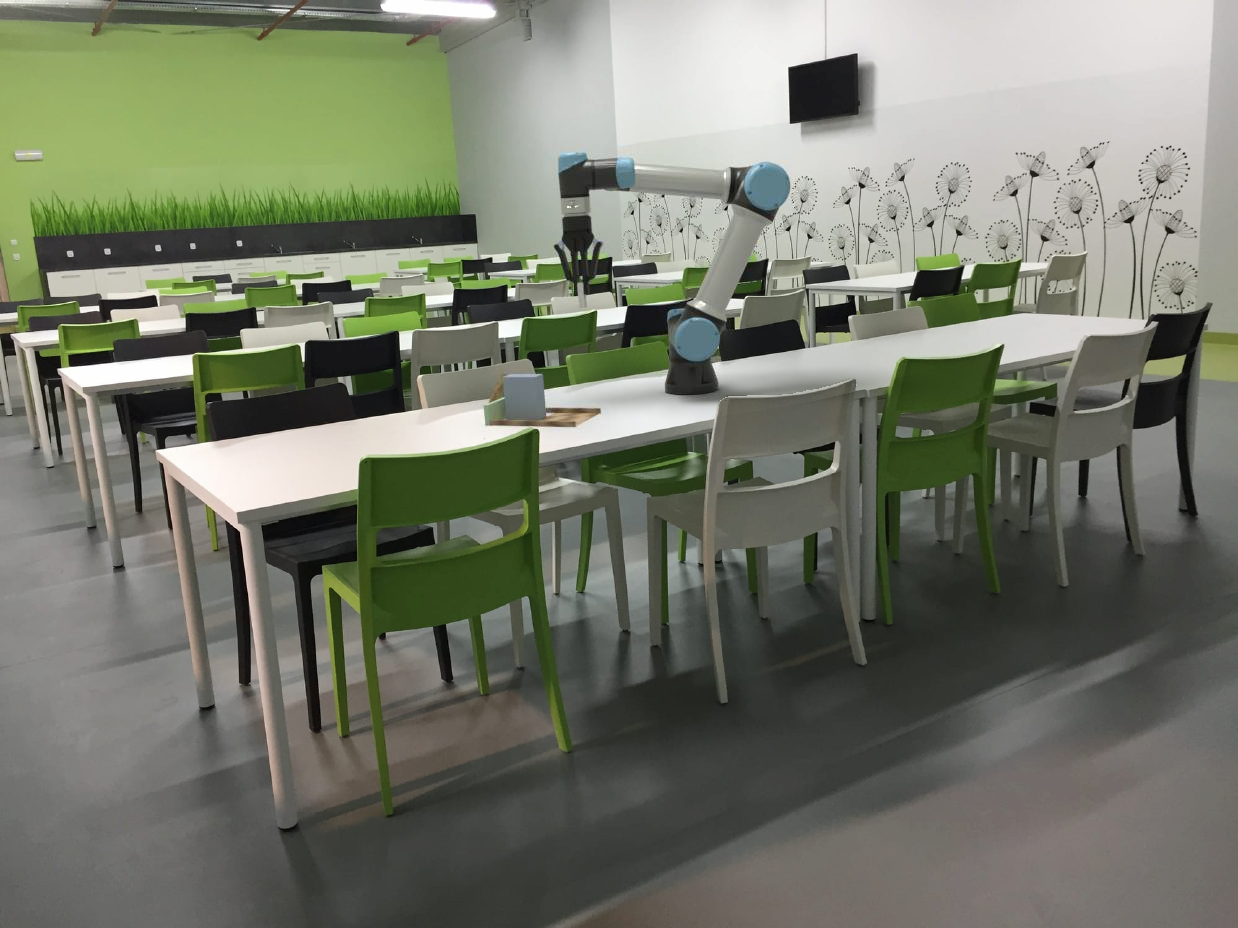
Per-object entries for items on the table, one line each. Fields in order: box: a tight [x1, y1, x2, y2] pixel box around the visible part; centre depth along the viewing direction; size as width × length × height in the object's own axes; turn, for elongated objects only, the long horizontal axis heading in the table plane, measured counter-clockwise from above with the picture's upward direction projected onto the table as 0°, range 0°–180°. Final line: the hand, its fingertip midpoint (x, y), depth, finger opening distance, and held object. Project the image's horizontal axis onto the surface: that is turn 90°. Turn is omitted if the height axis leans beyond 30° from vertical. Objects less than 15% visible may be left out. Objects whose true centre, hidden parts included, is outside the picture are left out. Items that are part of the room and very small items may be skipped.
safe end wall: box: [483, 397, 506, 426], centre depth 254 cm, size 1×17×6 cm, turn 158°
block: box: [503, 373, 547, 421], centre depth 250 cm, size 9×4×11 cm, turn 69°
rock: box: [488, 373, 508, 403], centre depth 268 cm, size 11×9×10 cm
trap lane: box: [489, 407, 602, 428], centre depth 250 cm, size 23×17×2 cm
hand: (582, 307), depth 262 cm, fingers closed
